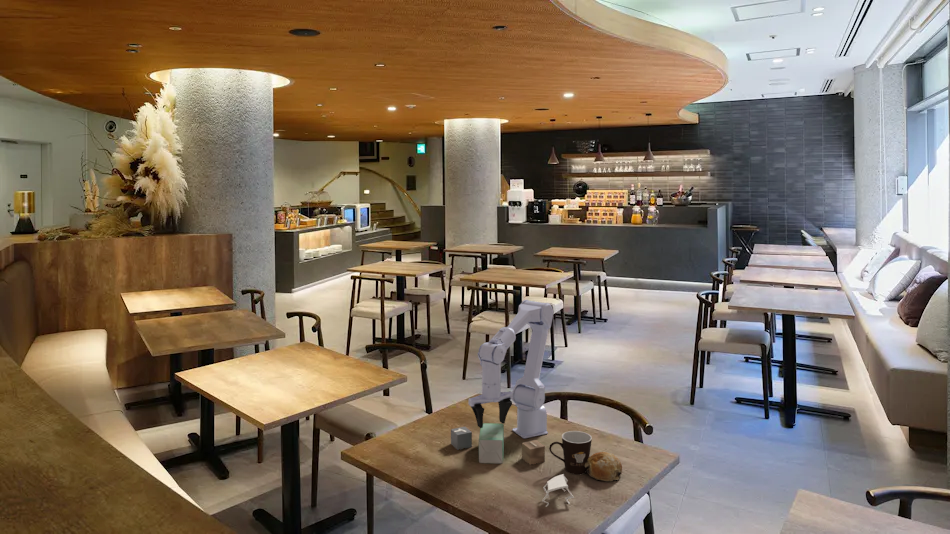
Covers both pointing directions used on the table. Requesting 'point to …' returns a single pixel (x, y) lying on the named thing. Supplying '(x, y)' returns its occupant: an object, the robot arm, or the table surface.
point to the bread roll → (604, 466)
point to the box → (491, 443)
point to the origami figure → (557, 486)
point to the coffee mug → (574, 451)
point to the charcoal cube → (461, 438)
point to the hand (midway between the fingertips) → (491, 424)
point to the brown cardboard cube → (533, 452)
